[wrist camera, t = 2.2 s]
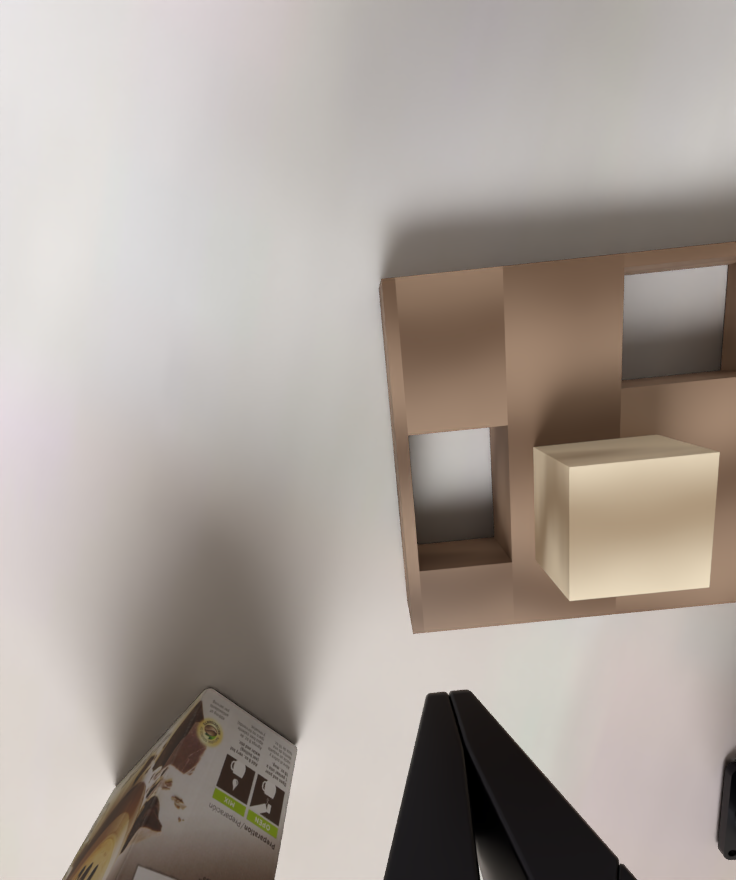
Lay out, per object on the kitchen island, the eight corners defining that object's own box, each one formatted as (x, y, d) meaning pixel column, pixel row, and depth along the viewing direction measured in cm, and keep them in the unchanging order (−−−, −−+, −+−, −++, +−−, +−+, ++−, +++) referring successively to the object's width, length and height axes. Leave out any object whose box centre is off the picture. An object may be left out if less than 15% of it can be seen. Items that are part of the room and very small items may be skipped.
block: (652, 548, 18) (709, 587, 15) (535, 560, 18) (569, 600, 15) (657, 434, 17) (719, 452, 14) (533, 446, 17) (569, 467, 14)
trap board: (906, 551, 21) (979, 578, 18) (407, 600, 21) (413, 633, 19) (966, 227, 18) (1063, 206, 15) (378, 288, 18) (381, 279, 15)
